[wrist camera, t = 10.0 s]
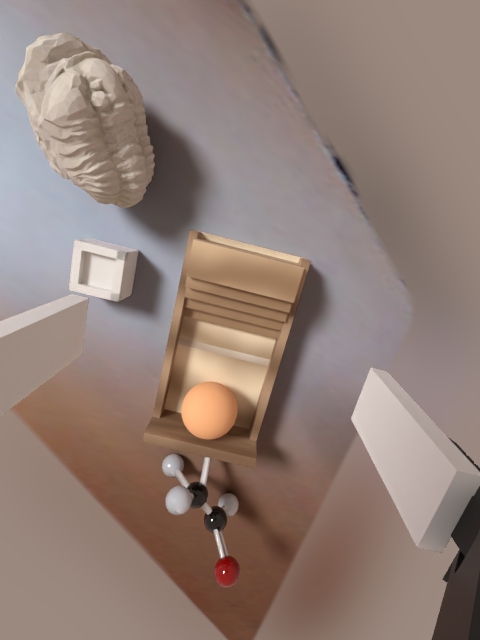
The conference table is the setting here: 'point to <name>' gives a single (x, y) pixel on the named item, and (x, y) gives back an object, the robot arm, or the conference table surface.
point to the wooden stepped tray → (226, 340)
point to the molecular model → (214, 517)
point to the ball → (209, 410)
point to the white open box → (103, 269)
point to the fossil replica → (87, 118)
